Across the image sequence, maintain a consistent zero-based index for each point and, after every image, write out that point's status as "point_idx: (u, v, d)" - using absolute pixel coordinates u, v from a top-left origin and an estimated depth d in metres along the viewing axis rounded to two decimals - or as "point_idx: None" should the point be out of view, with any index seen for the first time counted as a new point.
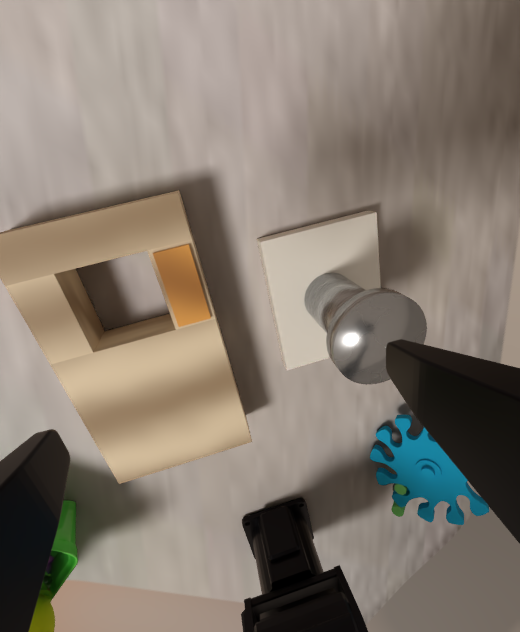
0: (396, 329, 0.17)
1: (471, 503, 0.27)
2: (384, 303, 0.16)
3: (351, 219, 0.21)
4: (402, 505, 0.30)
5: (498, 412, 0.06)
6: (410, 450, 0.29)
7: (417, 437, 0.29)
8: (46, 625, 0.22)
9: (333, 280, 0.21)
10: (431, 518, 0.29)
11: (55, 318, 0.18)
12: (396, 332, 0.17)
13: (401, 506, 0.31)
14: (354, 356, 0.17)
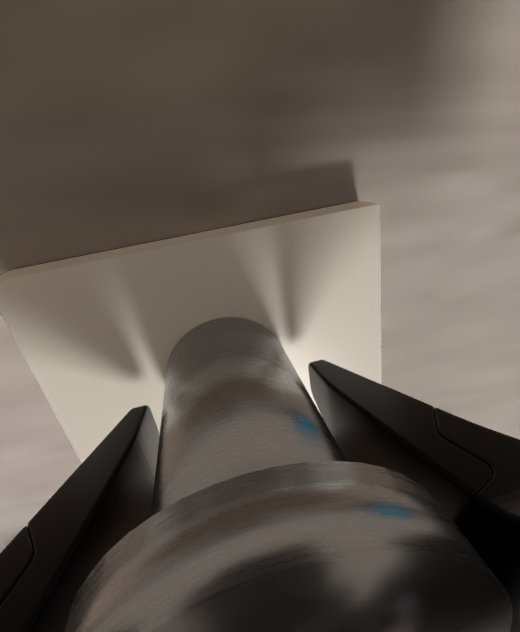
0: None
1: None
2: None
3: (22, 347, 0.08)
4: None
5: (383, 447, 0.06)
6: None
7: None
8: None
9: None
10: None
11: None
12: None
13: None
14: None
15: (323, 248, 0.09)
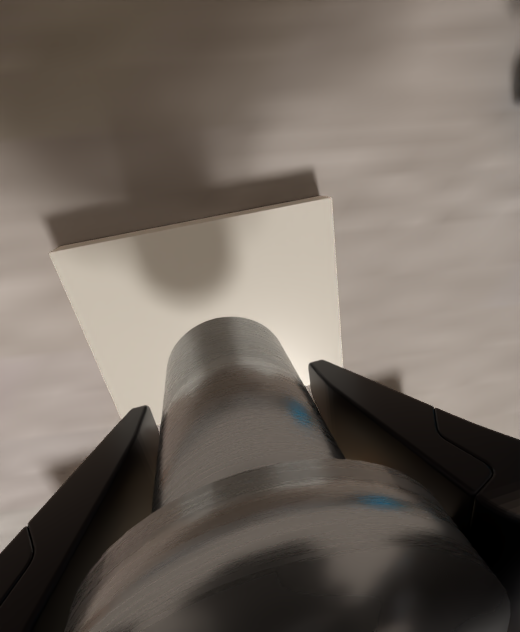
0: None
1: None
2: None
3: (71, 301, 0.12)
4: None
5: (383, 447, 0.06)
6: None
7: None
8: None
9: None
10: None
11: None
12: None
13: None
14: None
15: (290, 230, 0.12)
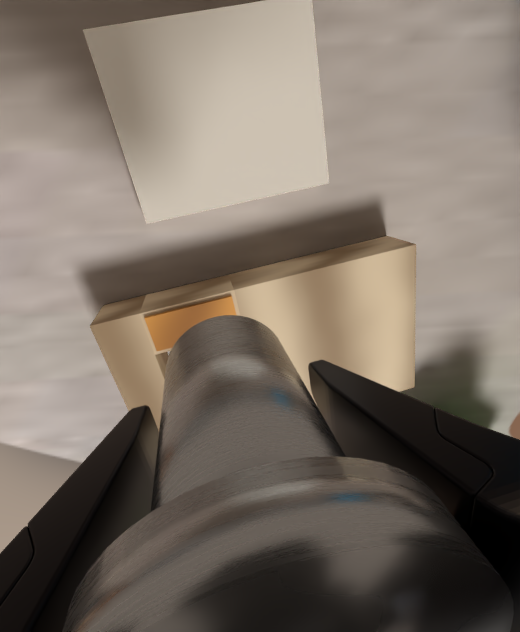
0: None
1: None
2: None
3: (100, 80, 0.14)
4: None
5: (383, 446, 0.06)
6: None
7: None
8: None
9: None
10: None
11: None
12: None
13: None
14: None
15: (278, 24, 0.15)
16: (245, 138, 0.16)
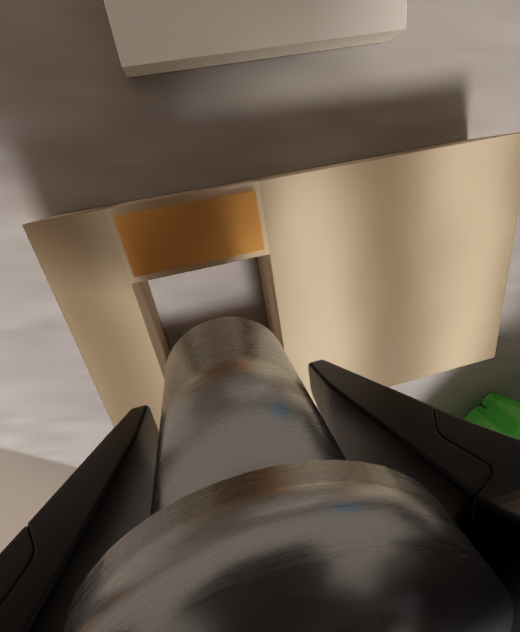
0: None
1: None
2: None
3: None
4: None
5: (383, 446, 0.06)
6: None
7: None
8: None
9: None
10: None
11: None
12: None
13: None
14: None
15: None
16: None
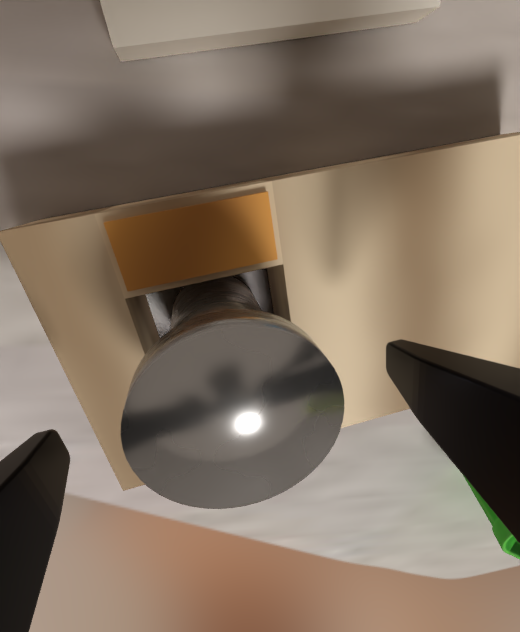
0: (212, 403, 0.07)
1: None
2: (144, 444, 0.07)
3: None
4: None
5: (498, 412, 0.06)
6: None
7: None
8: None
9: None
10: None
11: None
12: (220, 401, 0.07)
13: None
14: (266, 469, 0.08)
15: None
16: None
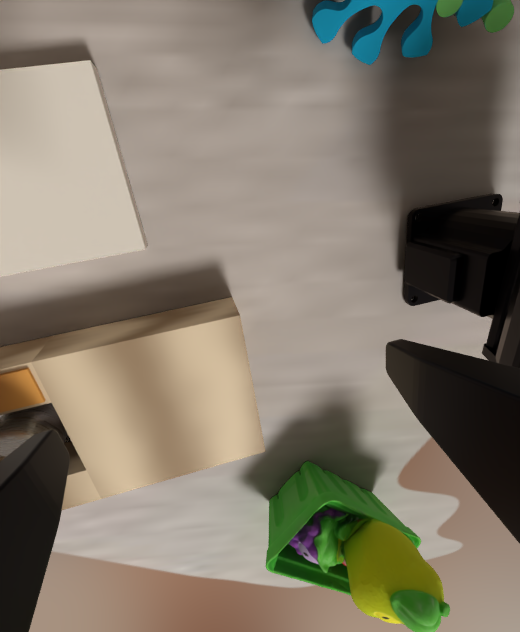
0: None
1: None
2: None
3: None
4: (488, 1, 0.14)
5: (498, 412, 0.06)
6: None
7: None
8: (378, 545, 0.21)
9: None
10: None
11: None
12: None
13: (494, 4, 0.14)
14: None
15: (55, 90, 0.14)
16: (37, 204, 0.15)
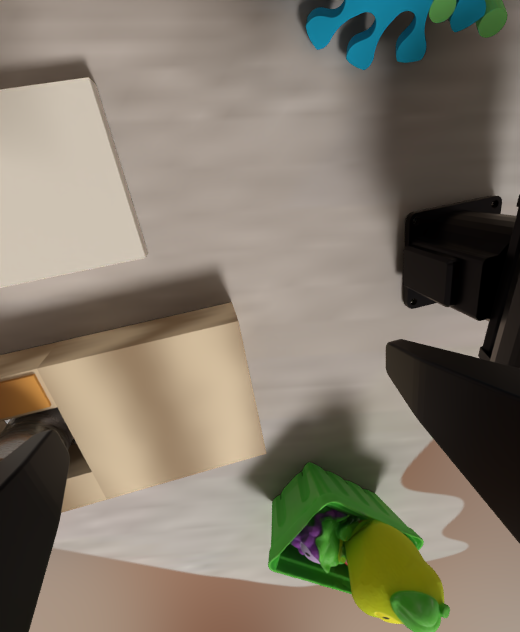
0: None
1: None
2: None
3: None
4: (480, 6, 0.14)
5: (498, 412, 0.06)
6: None
7: None
8: (379, 546, 0.21)
9: None
10: None
11: None
12: None
13: (487, 9, 0.14)
14: None
15: (56, 107, 0.14)
16: (40, 216, 0.16)
